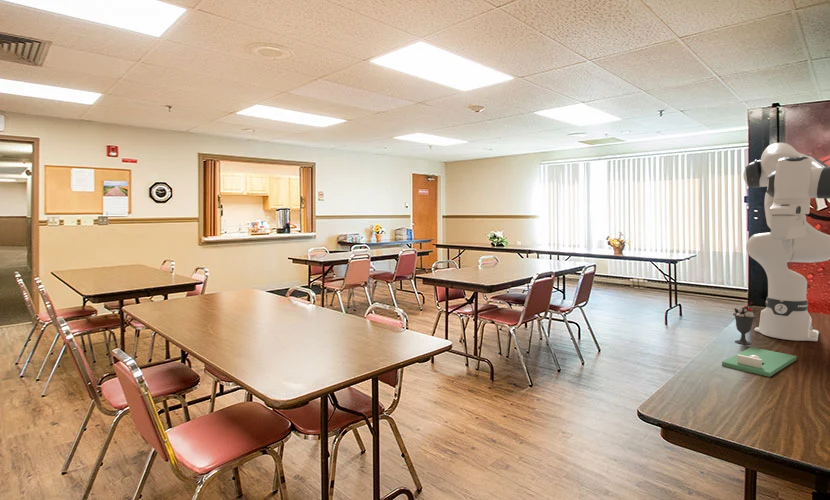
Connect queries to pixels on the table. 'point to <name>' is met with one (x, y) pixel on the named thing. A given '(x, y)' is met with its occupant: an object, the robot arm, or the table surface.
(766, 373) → the green
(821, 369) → the table surface
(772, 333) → the robot arm
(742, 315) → the sundae
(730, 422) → the table surface
